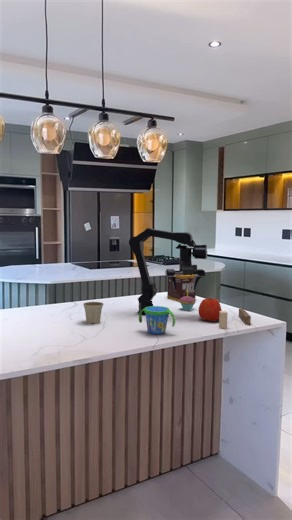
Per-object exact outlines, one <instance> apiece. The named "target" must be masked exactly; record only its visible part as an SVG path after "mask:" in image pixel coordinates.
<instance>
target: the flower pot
mask: <svg viewBox="0 0 292 520" xmlns="http://www.w3.org/2000/svg"><path fill="white" fill-rule="evenodd" d="M82 306H83V308H84V313H85V314H84V315H85V321H86V323H87V324H91V325H92V324H99V323H100V322H101V319H102V318H101V316H102V309H103V307H104V303H103V302H100V301H88V302H83V304H82Z"/></svg>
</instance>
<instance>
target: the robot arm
mask: <svg viewBox="0 0 292 520" xmlns="http://www.w3.org/2000/svg"><path fill="white" fill-rule="evenodd" d="M151 237H153V238H159V239H165V240H171V241H174V242H176V243H178V244H177V246H175V249H177V250H179V263H178V264H179V265H178V267H179V269H178V270H175V269H174V268H166V269H165V276H167V278H168V277H169V278H171V280H172V282H173V285H174V288H175V290H176V280H175V279H176V277H175V274H183V275H193V274H194V285H193V290H195V288H196V287H197V285H198V283H199V280H200V279H201V278H203V277H206V271H205V270H204V269H202V268H198V265H197V264H192V262H193V261H192V257H193V258H194V259H196V260H197V259H198V260H199V259H200V260H207V258H208V248H207V247H208V245H207V244H196V242H195V241H194V239H193V235H192V233H191V232H189V231H187V232H186V231H185V232H184V231H183V232H181V231H179V232H178V231H177V232H174V231H169V230H168V231H167V230H161V229H156V228H153V227H148V228H145V230H143V231H141V232H140V233H138V234H137V235H136V236H131V237H130V238H129V240H128V245H129V247H130V250H131V251H132V253H133V255H134V256H135V260H136V264H137V268H138V272H139V275H140V278H141V295H140V296H139V297H137V301H138V311H137V314H138V315H139V314H140V312H141V311H142V310H143V309H145V308H146V307H149V306H154V303H153V301H152V300H153V299H154V298H155V296H156V295H157V291H158V289H157V285H156V282H153V281H152V280H151V276H150V273H149V269H148V265H147V261H146V258H145V254H144V249H145V245H144V242H146V241H147V240H148V239H149V238H151ZM141 316H146V315H145V312H144V311H143V312H142V315H141Z"/></svg>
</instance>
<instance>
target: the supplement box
mask: <svg viewBox="0 0 292 520" xmlns="http://www.w3.org/2000/svg"><path fill="white" fill-rule="evenodd" d="M194 275H195V274H193V275H183V274H175V277H176V279H175V280H176V290H175V288H174V285H173V282H172V280H171V278H169V277H168V276H167V293H166V294H167V296H166V297H167V299H170V300H172V301H175V302H178V303H179V300H180V298H182V297H184V296H187V289H188V296H190V297H192V298H194V299H195V300H196V292H197V291H196V290H197V289H196V288H195V290H193V285H194Z"/></svg>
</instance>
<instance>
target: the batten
mask: <svg viewBox="0 0 292 520" xmlns="http://www.w3.org/2000/svg"><path fill="white" fill-rule="evenodd" d="M251 317H252V316H251V315H250V314H249V313H248V312H247V311H246V310H245V309H244V308H238V318H239V319H240V320H241V321H242V322H243V323H244V325H246V326H251V321H252V320H251V319H252V318H251Z"/></svg>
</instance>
